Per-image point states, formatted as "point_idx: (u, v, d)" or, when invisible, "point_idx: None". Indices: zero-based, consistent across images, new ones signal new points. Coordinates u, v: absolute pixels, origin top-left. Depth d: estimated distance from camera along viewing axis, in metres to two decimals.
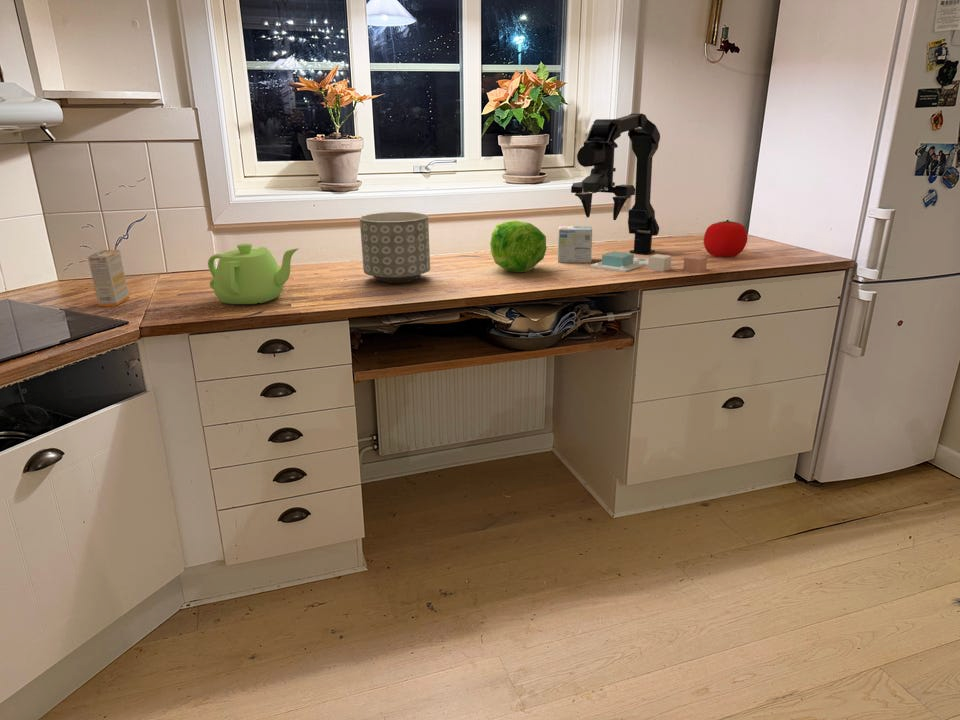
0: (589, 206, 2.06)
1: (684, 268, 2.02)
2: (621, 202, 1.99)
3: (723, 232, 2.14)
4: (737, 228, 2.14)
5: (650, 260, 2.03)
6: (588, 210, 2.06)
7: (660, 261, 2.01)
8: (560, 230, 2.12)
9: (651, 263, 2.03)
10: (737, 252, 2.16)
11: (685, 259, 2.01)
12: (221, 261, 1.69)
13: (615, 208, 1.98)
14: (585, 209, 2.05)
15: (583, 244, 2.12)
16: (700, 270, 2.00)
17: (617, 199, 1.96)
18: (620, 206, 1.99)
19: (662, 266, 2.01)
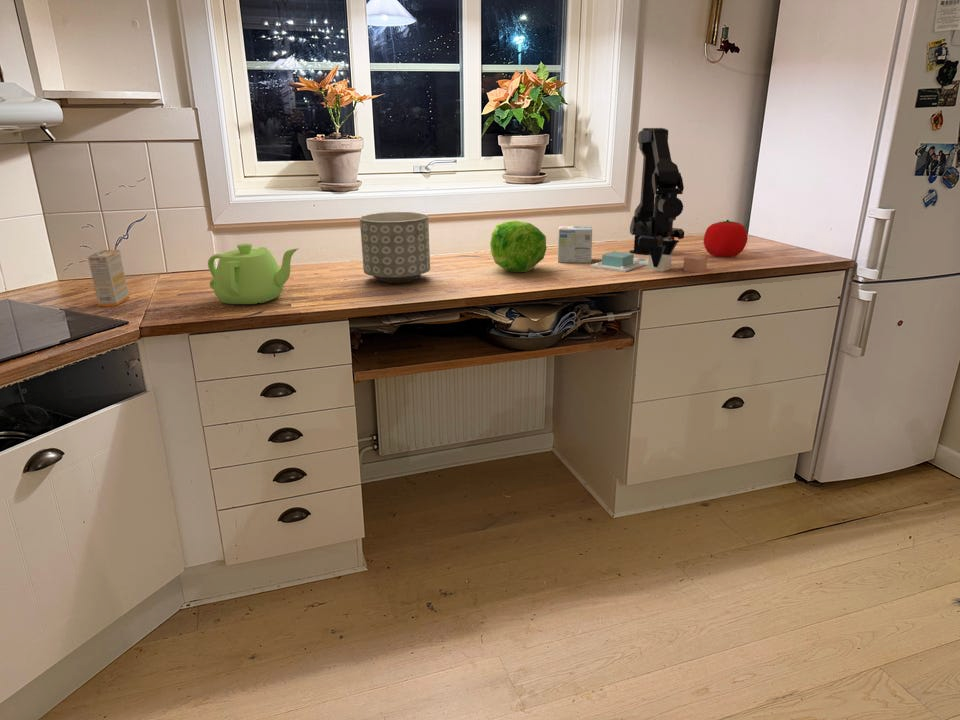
0: (666, 253, 2.05)
1: (684, 268, 2.02)
2: (657, 251, 1.99)
3: (723, 232, 2.14)
4: (737, 228, 2.14)
5: (650, 259, 2.03)
6: None
7: (660, 261, 2.01)
8: (560, 230, 2.12)
9: (651, 262, 2.03)
10: (737, 252, 2.16)
11: (685, 259, 2.01)
12: (221, 261, 1.69)
13: None
14: None
15: (583, 244, 2.12)
16: (700, 270, 2.00)
17: None
18: (656, 254, 2.00)
19: (662, 265, 2.01)
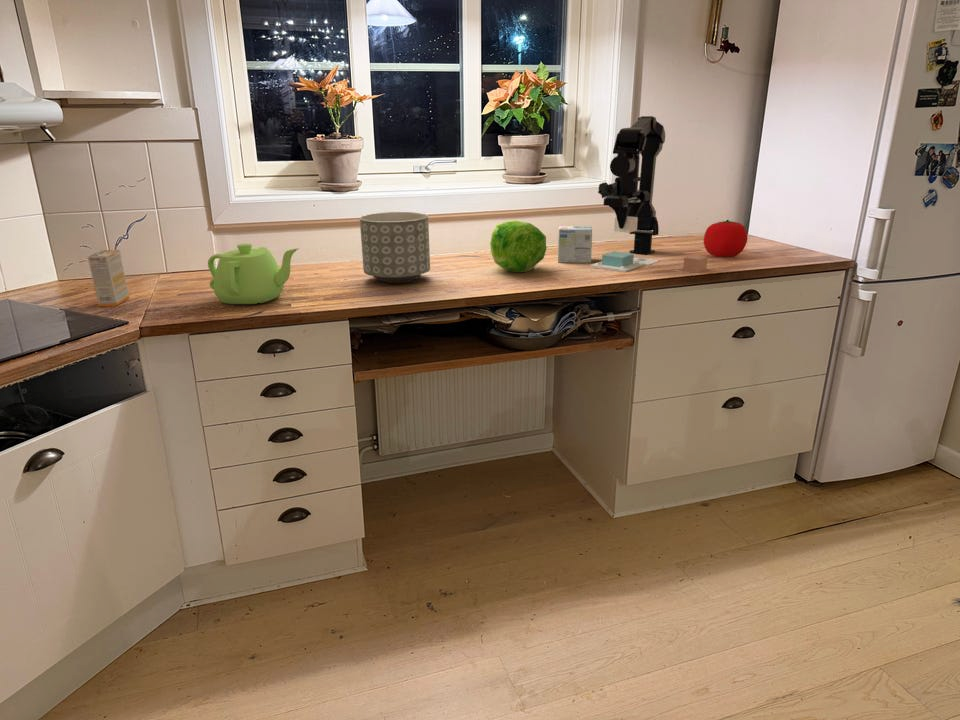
0: (632, 215, 2.05)
1: (684, 268, 2.02)
2: (623, 212, 1.99)
3: (723, 232, 2.14)
4: (737, 228, 2.14)
5: (616, 221, 2.03)
6: None
7: (626, 222, 2.01)
8: (560, 230, 2.12)
9: (617, 224, 2.03)
10: (737, 252, 2.16)
11: (685, 259, 2.01)
12: (221, 261, 1.69)
13: None
14: None
15: (583, 244, 2.12)
16: (700, 270, 2.00)
17: None
18: (622, 215, 2.00)
19: (628, 227, 2.01)
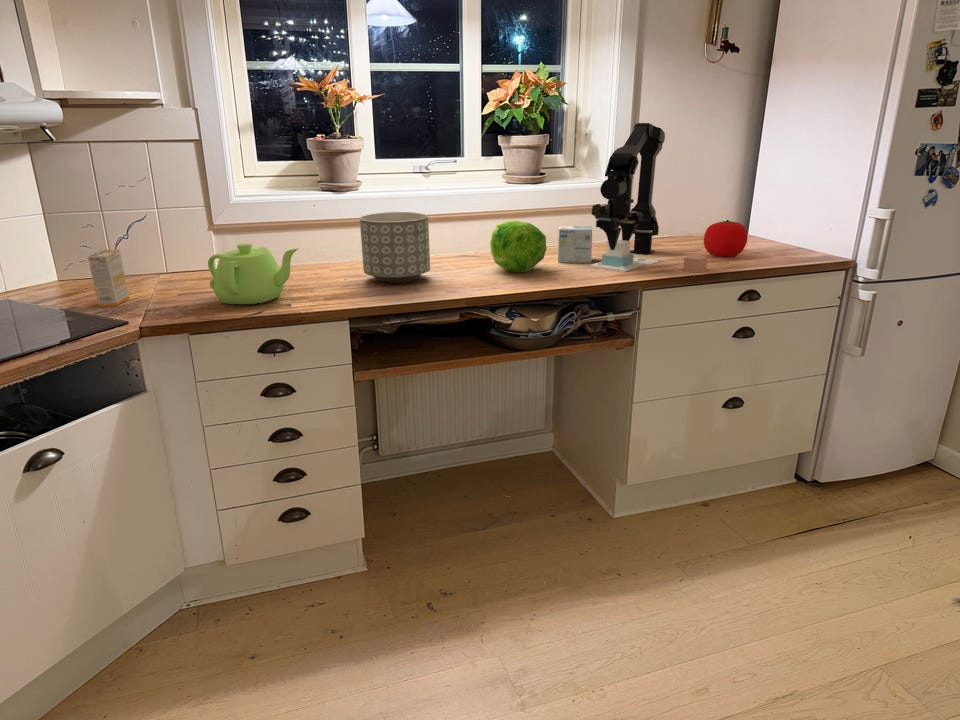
0: (627, 236, 2.09)
1: (684, 268, 2.02)
2: (613, 234, 2.01)
3: (723, 232, 2.14)
4: (737, 228, 2.14)
5: None
6: (624, 239, 2.09)
7: (619, 246, 2.04)
8: (560, 230, 2.12)
9: None
10: (737, 252, 2.16)
11: (685, 259, 2.01)
12: (221, 261, 1.69)
13: None
14: None
15: (583, 244, 2.12)
16: (700, 270, 2.00)
17: None
18: (613, 237, 2.02)
19: (620, 251, 2.04)
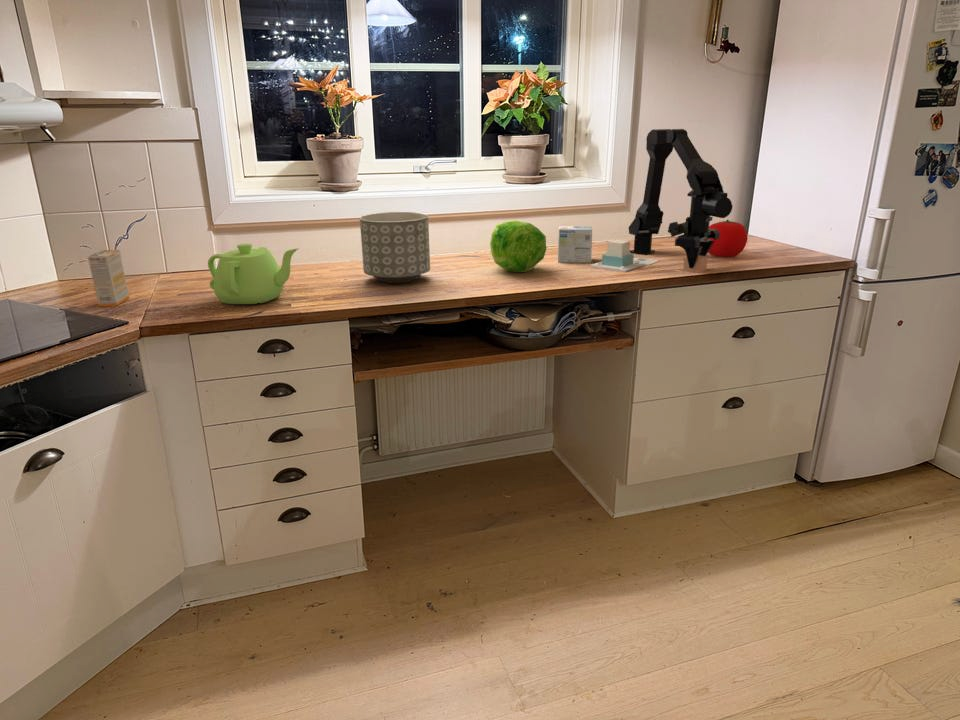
0: (702, 254, 2.03)
1: (684, 267, 2.02)
2: (694, 252, 1.97)
3: (723, 232, 2.14)
4: (737, 228, 2.14)
5: (609, 245, 2.06)
6: None
7: (619, 246, 2.04)
8: (560, 230, 2.12)
9: (610, 248, 2.06)
10: (737, 252, 2.16)
11: (685, 258, 2.01)
12: (221, 261, 1.69)
13: None
14: None
15: (583, 244, 2.12)
16: (700, 269, 2.00)
17: None
18: (693, 255, 1.98)
19: (620, 251, 2.04)
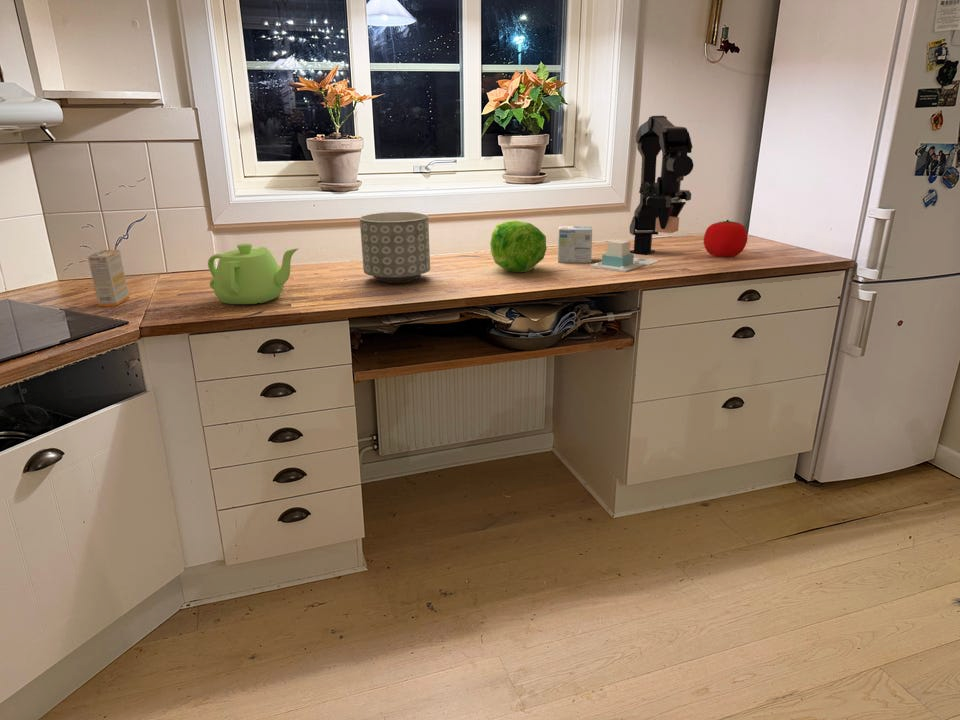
0: (673, 215, 2.02)
1: (656, 229, 2.01)
2: (665, 212, 1.96)
3: (723, 232, 2.14)
4: (737, 228, 2.14)
5: (609, 245, 2.06)
6: None
7: (619, 246, 2.04)
8: (560, 230, 2.12)
9: (610, 248, 2.06)
10: (737, 252, 2.16)
11: (657, 219, 2.00)
12: (221, 261, 1.69)
13: None
14: None
15: (583, 244, 2.12)
16: (672, 230, 1.99)
17: None
18: (664, 216, 1.97)
19: (620, 251, 2.04)
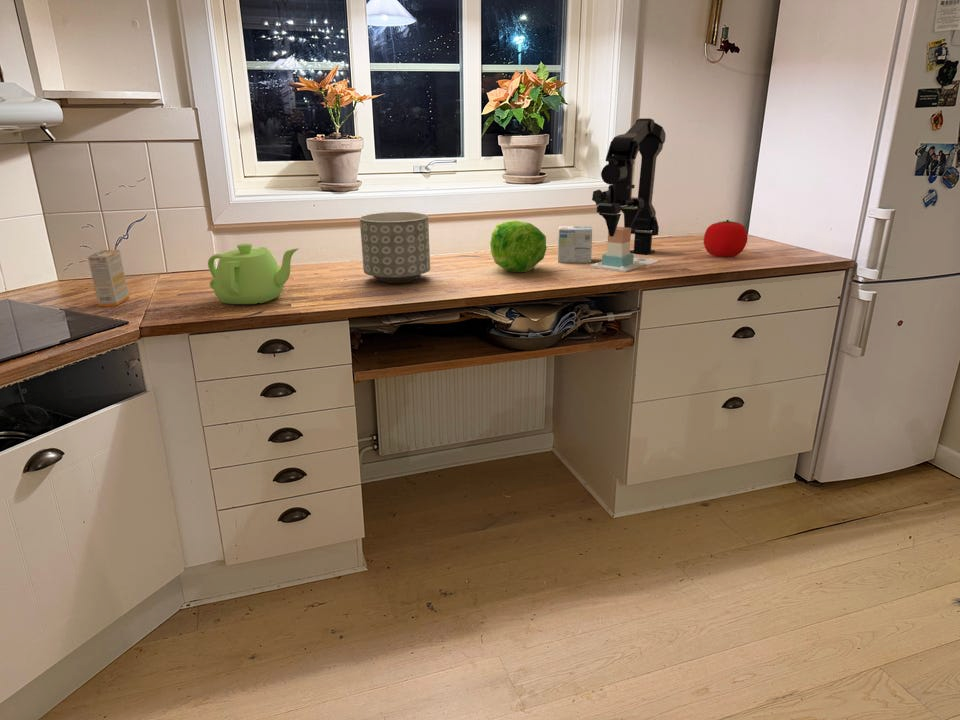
0: (629, 221, 2.08)
1: (608, 239, 2.06)
2: (613, 220, 1.99)
3: (723, 232, 2.14)
4: (737, 228, 2.14)
5: (609, 245, 2.06)
6: (627, 224, 2.08)
7: (619, 246, 2.04)
8: (560, 230, 2.12)
9: (610, 248, 2.06)
10: (737, 252, 2.16)
11: None
12: (221, 261, 1.69)
13: None
14: None
15: (583, 244, 2.12)
16: (623, 241, 2.04)
17: None
18: (612, 223, 2.00)
19: (620, 251, 2.04)
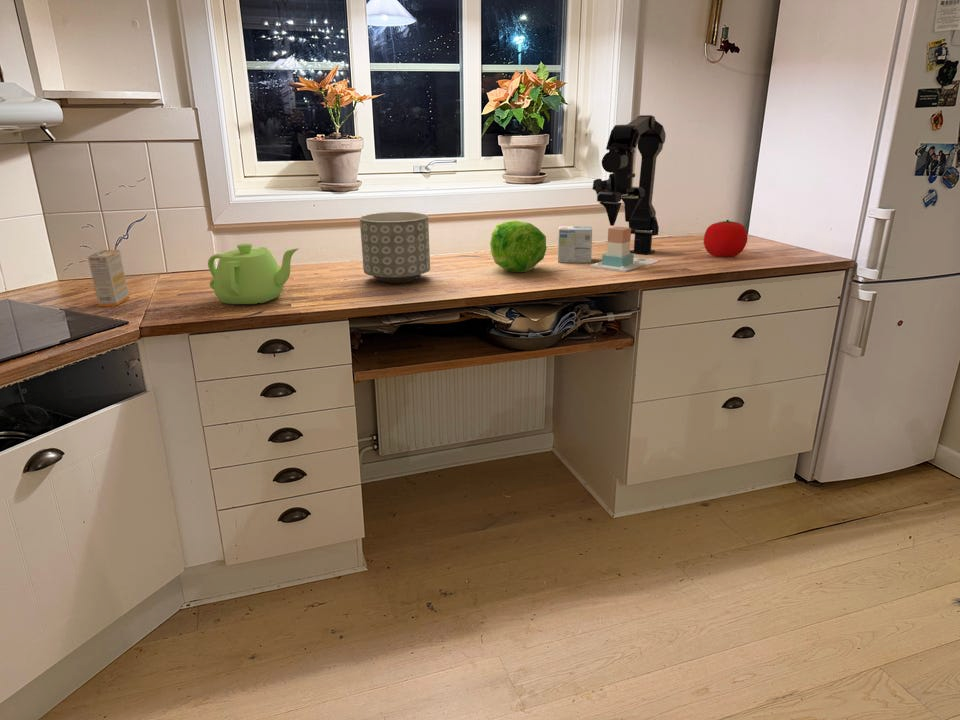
0: (629, 211, 2.07)
1: (608, 239, 2.06)
2: (613, 208, 1.98)
3: (723, 232, 2.14)
4: (737, 228, 2.14)
5: (609, 245, 2.06)
6: (627, 214, 2.07)
7: (619, 246, 2.04)
8: (560, 230, 2.12)
9: (610, 248, 2.06)
10: (737, 252, 2.16)
11: (609, 230, 2.05)
12: (221, 261, 1.69)
13: None
14: None
15: (583, 244, 2.12)
16: (623, 241, 2.04)
17: None
18: (612, 212, 1.99)
19: (620, 251, 2.04)
